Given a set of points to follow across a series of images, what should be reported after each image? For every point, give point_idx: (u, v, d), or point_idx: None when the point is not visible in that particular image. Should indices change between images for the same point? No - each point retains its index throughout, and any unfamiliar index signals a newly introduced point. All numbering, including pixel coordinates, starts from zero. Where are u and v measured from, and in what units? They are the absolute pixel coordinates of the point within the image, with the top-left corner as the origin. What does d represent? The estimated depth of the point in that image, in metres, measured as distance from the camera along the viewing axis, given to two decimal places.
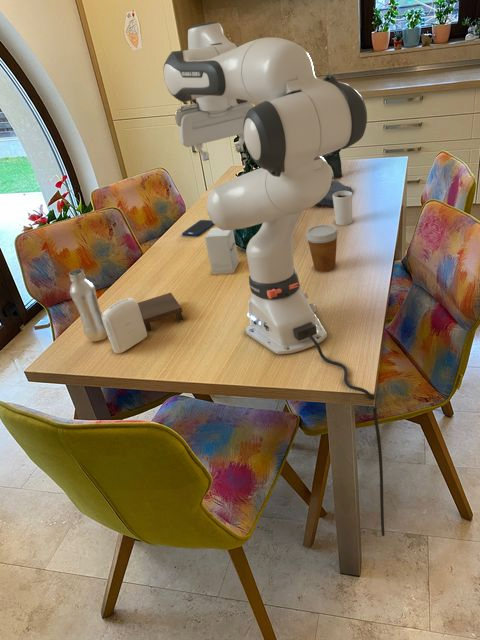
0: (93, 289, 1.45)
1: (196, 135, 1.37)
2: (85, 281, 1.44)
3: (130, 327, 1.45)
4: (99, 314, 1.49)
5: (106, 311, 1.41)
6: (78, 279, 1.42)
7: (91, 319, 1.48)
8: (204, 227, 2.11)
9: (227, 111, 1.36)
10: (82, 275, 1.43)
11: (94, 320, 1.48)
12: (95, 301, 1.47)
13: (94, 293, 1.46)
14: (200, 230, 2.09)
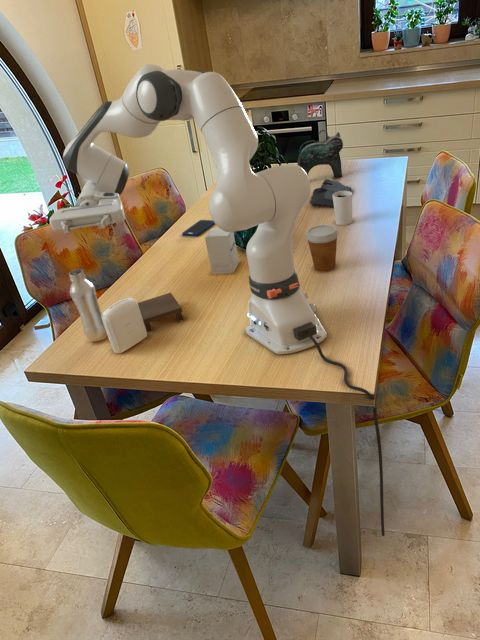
0: (93, 289, 1.45)
1: (62, 214, 1.55)
2: (85, 281, 1.44)
3: (130, 327, 1.45)
4: (99, 314, 1.49)
5: (106, 311, 1.41)
6: (78, 279, 1.42)
7: (91, 319, 1.48)
8: (204, 227, 2.11)
9: (95, 202, 1.57)
10: (82, 275, 1.43)
11: (94, 320, 1.48)
12: (95, 301, 1.47)
13: (94, 293, 1.46)
14: (200, 230, 2.09)
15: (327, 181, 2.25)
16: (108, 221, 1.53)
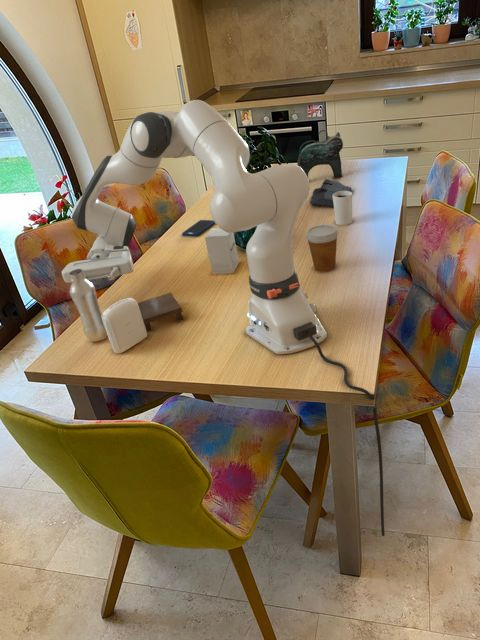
0: (93, 289, 1.45)
1: (74, 267, 1.62)
2: (85, 281, 1.44)
3: (130, 327, 1.45)
4: (99, 314, 1.49)
5: (106, 311, 1.41)
6: (78, 279, 1.42)
7: (91, 319, 1.48)
8: (204, 227, 2.11)
9: (105, 255, 1.64)
10: (82, 275, 1.43)
11: (94, 320, 1.48)
12: (95, 301, 1.47)
13: (94, 293, 1.46)
14: (200, 230, 2.09)
15: (327, 181, 2.25)
16: (117, 273, 1.59)
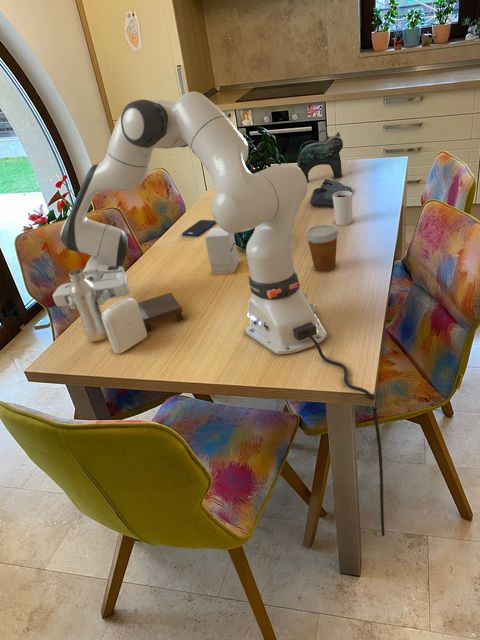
0: (93, 289, 1.45)
1: (65, 290, 1.52)
2: (85, 281, 1.44)
3: (130, 327, 1.45)
4: (99, 314, 1.49)
5: (106, 311, 1.41)
6: (78, 279, 1.42)
7: (91, 319, 1.48)
8: (204, 227, 2.11)
9: (99, 277, 1.55)
10: (82, 275, 1.43)
11: (94, 320, 1.48)
12: (95, 301, 1.47)
13: (94, 293, 1.46)
14: (200, 230, 2.09)
15: (327, 181, 2.25)
16: (108, 296, 1.50)
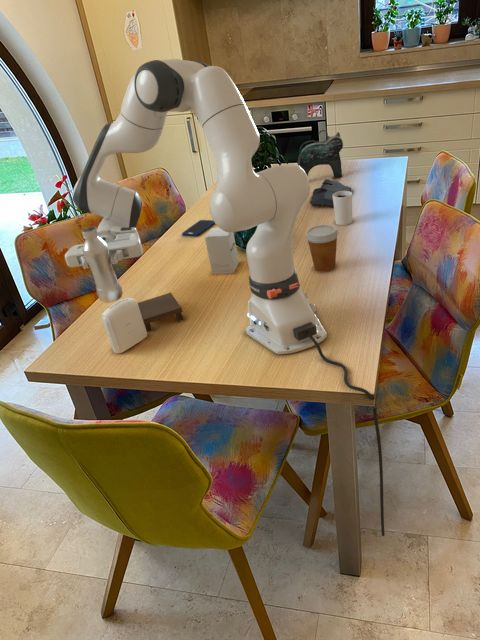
0: (106, 247, 1.42)
1: (78, 250, 1.49)
2: (98, 239, 1.40)
3: (130, 327, 1.45)
4: (112, 274, 1.45)
5: (106, 311, 1.41)
6: (91, 236, 1.39)
7: (104, 279, 1.44)
8: (204, 227, 2.11)
9: (111, 237, 1.51)
10: (95, 232, 1.39)
11: (108, 280, 1.45)
12: (108, 260, 1.43)
13: (107, 252, 1.42)
14: (200, 230, 2.09)
15: (327, 181, 2.25)
16: (121, 256, 1.46)
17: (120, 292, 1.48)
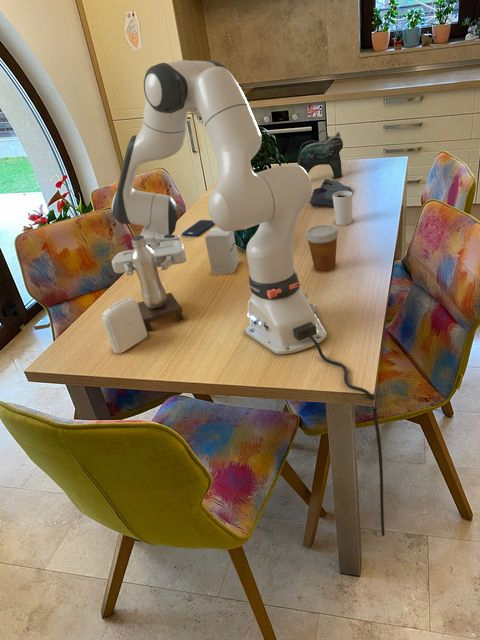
0: (154, 255, 1.48)
1: (124, 257, 1.54)
2: (147, 247, 1.47)
3: (130, 327, 1.45)
4: (158, 281, 1.52)
5: (106, 311, 1.41)
6: (140, 245, 1.45)
7: (151, 286, 1.50)
8: (204, 227, 2.11)
9: (156, 244, 1.57)
10: (144, 241, 1.45)
11: (154, 287, 1.51)
12: (155, 267, 1.49)
13: (155, 259, 1.48)
14: (200, 230, 2.09)
15: (327, 181, 2.25)
16: (171, 262, 1.52)
17: (165, 298, 1.54)
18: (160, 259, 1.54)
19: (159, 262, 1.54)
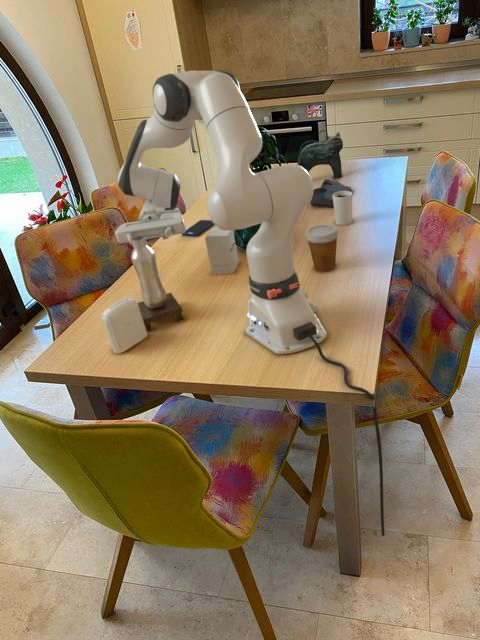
0: (154, 255, 1.48)
1: (127, 228, 1.63)
2: (147, 247, 1.47)
3: (130, 327, 1.45)
4: (158, 281, 1.52)
5: (106, 311, 1.41)
6: (140, 245, 1.45)
7: (151, 286, 1.50)
8: (204, 227, 2.11)
9: (157, 216, 1.66)
10: (144, 241, 1.45)
11: (154, 287, 1.51)
12: (155, 267, 1.49)
13: (155, 259, 1.48)
14: (200, 230, 2.09)
15: (327, 181, 2.25)
16: (171, 232, 1.61)
17: (165, 298, 1.54)
18: (161, 230, 1.62)
19: (160, 232, 1.63)
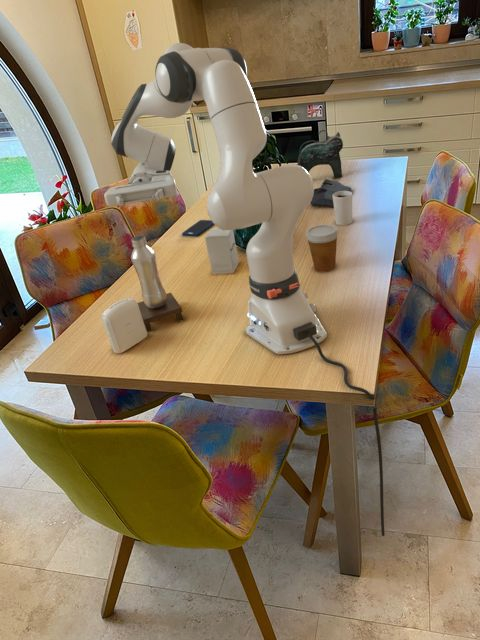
0: (154, 255, 1.48)
1: (116, 190, 1.57)
2: (147, 247, 1.47)
3: (130, 327, 1.45)
4: (158, 281, 1.52)
5: (106, 311, 1.41)
6: (140, 245, 1.45)
7: (151, 286, 1.50)
8: (204, 227, 2.11)
9: (147, 179, 1.60)
10: (144, 241, 1.45)
11: (154, 287, 1.51)
12: (155, 267, 1.49)
13: (155, 259, 1.48)
14: (200, 230, 2.09)
15: (327, 181, 2.25)
16: (162, 194, 1.55)
17: (165, 298, 1.54)
18: (152, 192, 1.57)
19: (151, 195, 1.57)
